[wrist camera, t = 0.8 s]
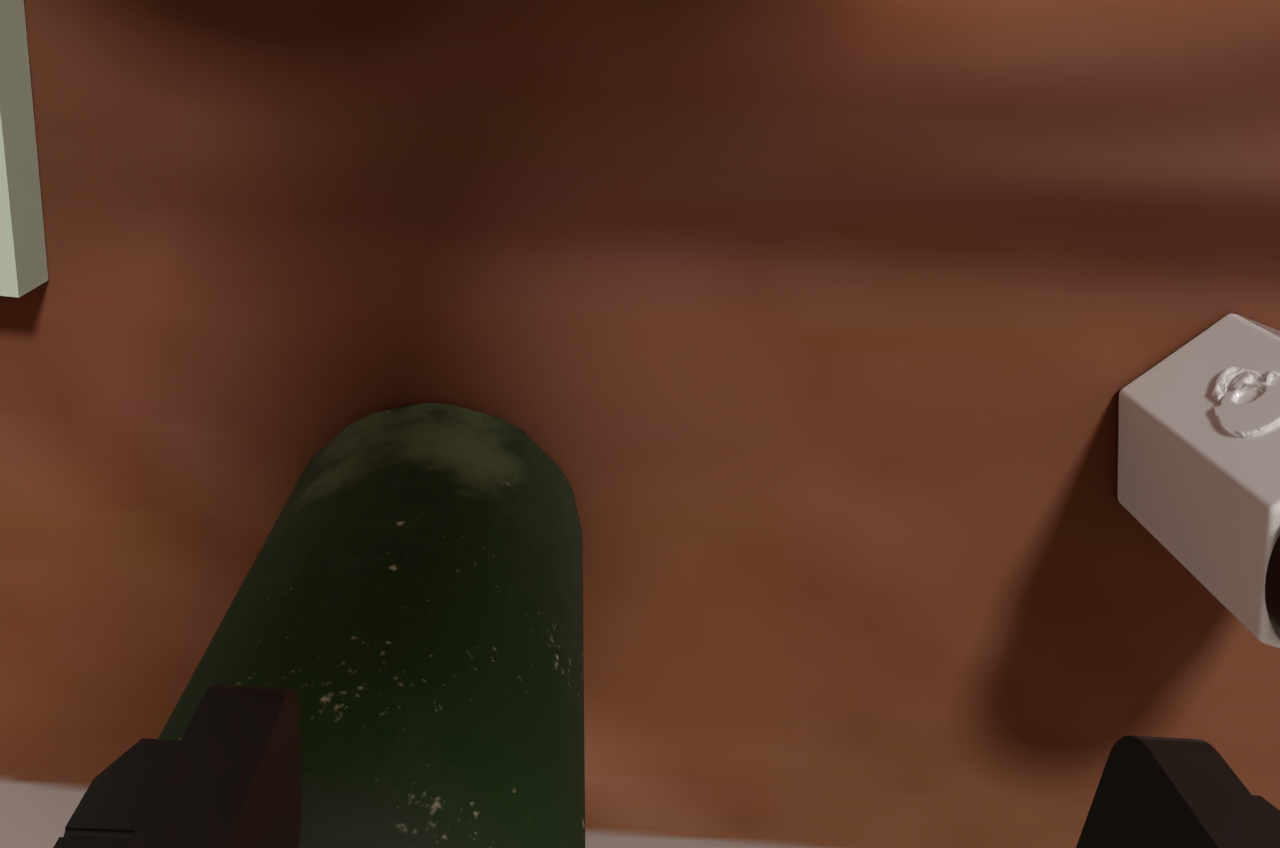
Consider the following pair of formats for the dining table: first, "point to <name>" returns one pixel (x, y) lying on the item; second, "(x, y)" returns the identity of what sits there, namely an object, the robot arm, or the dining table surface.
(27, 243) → the putting mat
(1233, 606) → the jar
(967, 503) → the dining table surface
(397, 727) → the dark green tall piece
